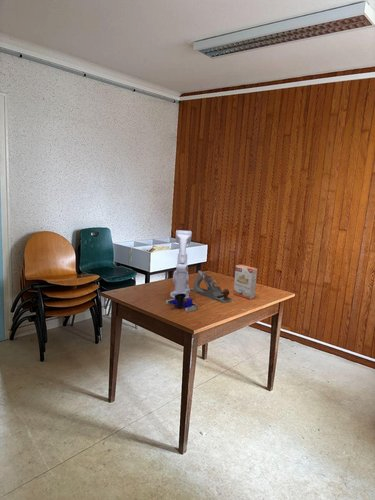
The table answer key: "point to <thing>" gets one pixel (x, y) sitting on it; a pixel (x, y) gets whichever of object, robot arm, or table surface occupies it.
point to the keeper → (188, 309)
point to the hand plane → (210, 289)
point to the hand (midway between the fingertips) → (179, 305)
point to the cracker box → (245, 281)
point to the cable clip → (185, 305)
